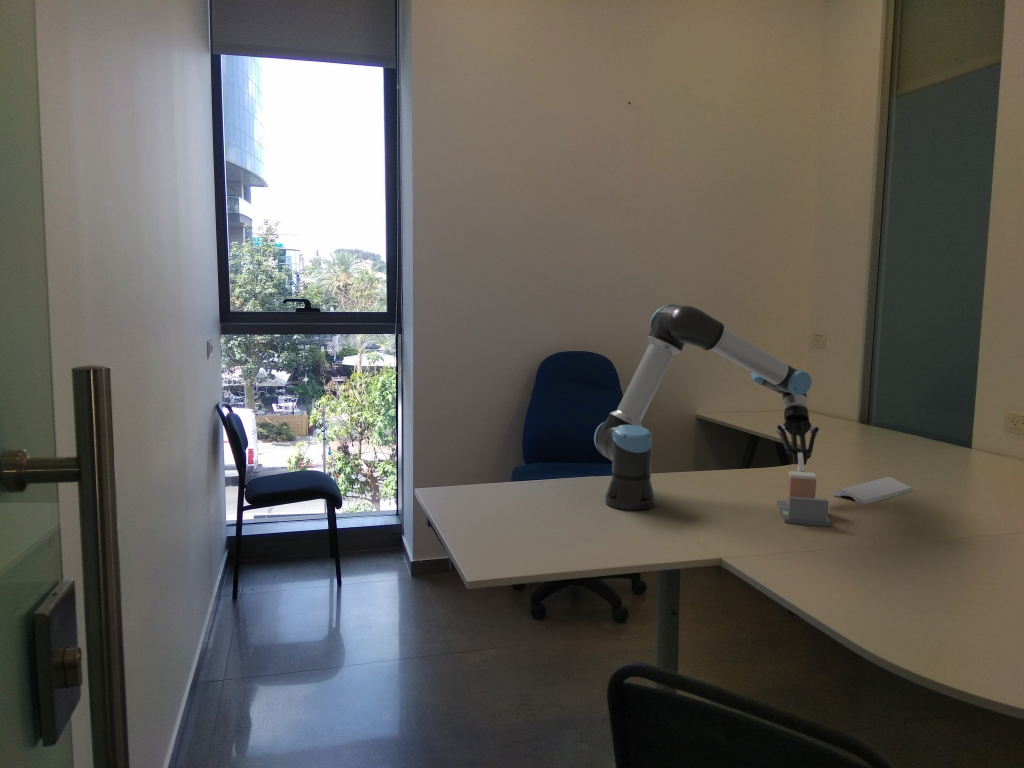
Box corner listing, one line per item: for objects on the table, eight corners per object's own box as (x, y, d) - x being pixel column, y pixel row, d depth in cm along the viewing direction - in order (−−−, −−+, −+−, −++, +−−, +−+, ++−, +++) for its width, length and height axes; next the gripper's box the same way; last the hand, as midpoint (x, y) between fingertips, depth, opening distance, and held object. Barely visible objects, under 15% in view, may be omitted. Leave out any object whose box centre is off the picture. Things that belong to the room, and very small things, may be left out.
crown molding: (865, 506, 223) (866, 494, 223) (828, 496, 233) (829, 486, 233) (912, 492, 240) (913, 481, 239) (876, 484, 250) (877, 474, 249)
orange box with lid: (789, 507, 214) (791, 475, 213) (786, 502, 219) (788, 471, 218) (814, 509, 213) (816, 476, 211) (811, 504, 217) (813, 472, 216)
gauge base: (785, 522, 204) (786, 498, 203) (776, 504, 222) (778, 481, 221) (830, 526, 201) (832, 501, 200) (818, 507, 219) (820, 484, 219)
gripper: (815, 418, 239) (821, 480, 225) (773, 416, 242) (777, 477, 228) (819, 405, 233) (825, 467, 219) (776, 403, 236) (780, 465, 222)
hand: (801, 472), depth 223 cm, fingers closed
